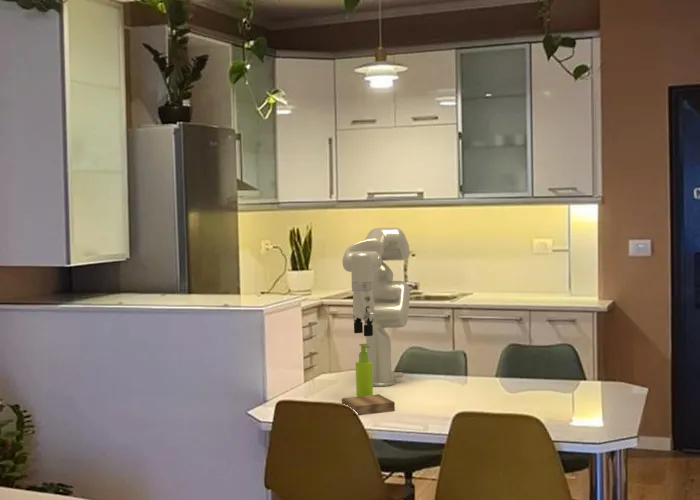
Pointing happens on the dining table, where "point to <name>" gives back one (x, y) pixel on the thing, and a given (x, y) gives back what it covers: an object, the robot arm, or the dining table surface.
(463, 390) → the dining table surface
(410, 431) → the dining table surface
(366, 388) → the soap dispenser
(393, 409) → the block
